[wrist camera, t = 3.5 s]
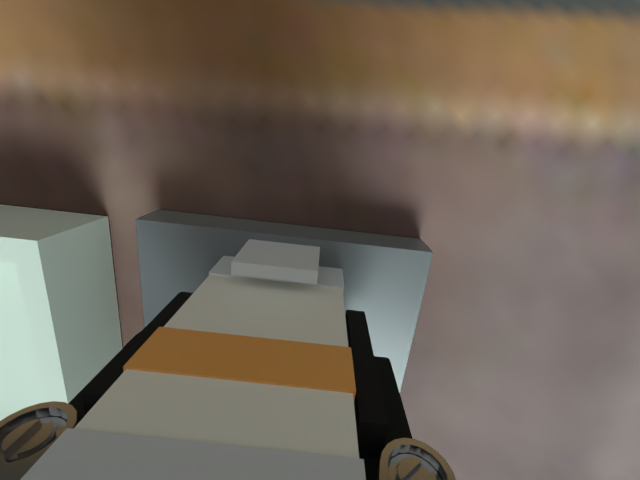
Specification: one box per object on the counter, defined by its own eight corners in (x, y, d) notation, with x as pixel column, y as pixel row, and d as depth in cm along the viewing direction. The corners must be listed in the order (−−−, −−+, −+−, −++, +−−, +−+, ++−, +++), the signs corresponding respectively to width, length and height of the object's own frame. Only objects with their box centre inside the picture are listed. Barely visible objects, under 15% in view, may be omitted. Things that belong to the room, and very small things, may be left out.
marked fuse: (342, 268, 10) (380, 605, 3) (328, 365, 12) (328, 776, 4) (223, 255, 10) (-57, 562, 3) (222, 354, 12) (27, 749, 4)
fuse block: (420, 238, 12) (457, 278, 8) (361, 503, 16) (369, 596, 13) (159, 209, 12) (91, 237, 8) (174, 484, 16) (135, 573, 13)
